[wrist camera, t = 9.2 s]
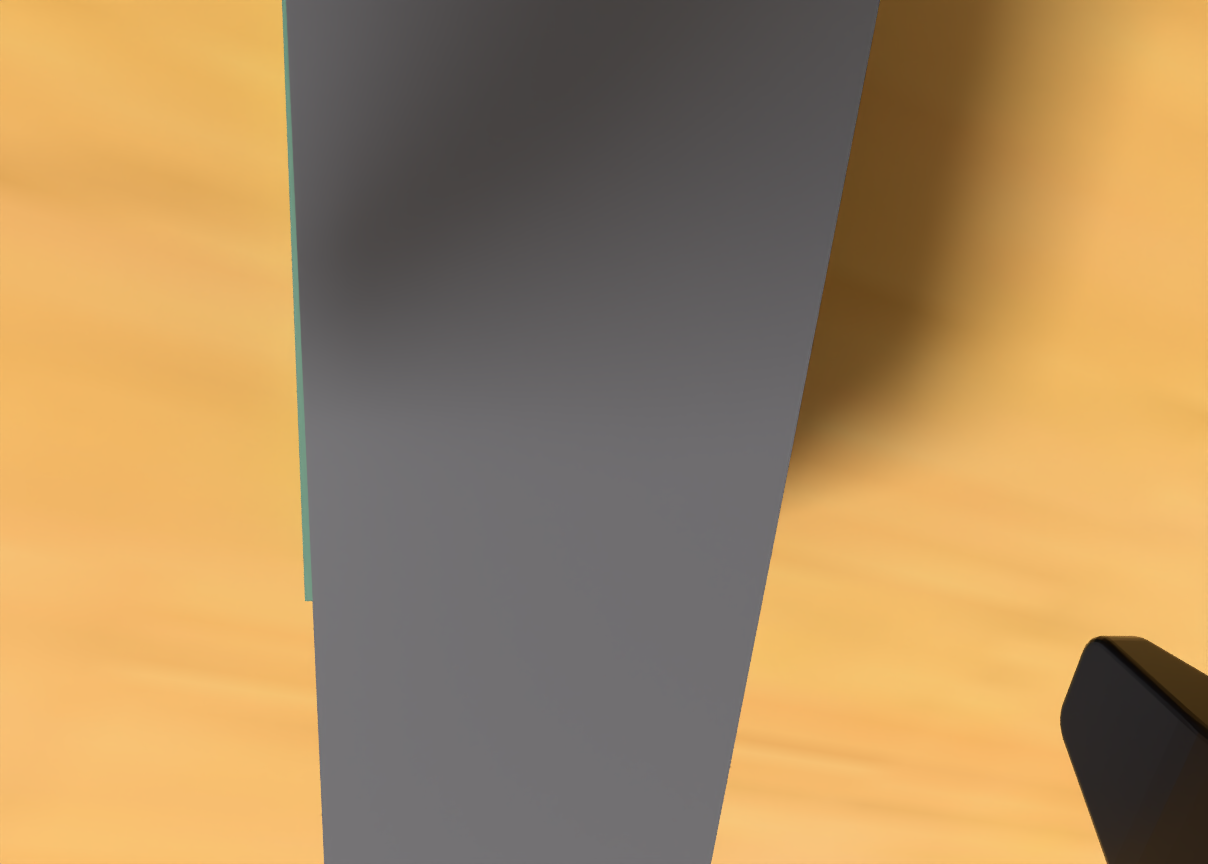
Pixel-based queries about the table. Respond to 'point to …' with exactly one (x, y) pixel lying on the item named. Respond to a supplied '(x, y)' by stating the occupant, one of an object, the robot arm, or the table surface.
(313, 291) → the block
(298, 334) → the strip
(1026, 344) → the table surface
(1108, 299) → the table surface
